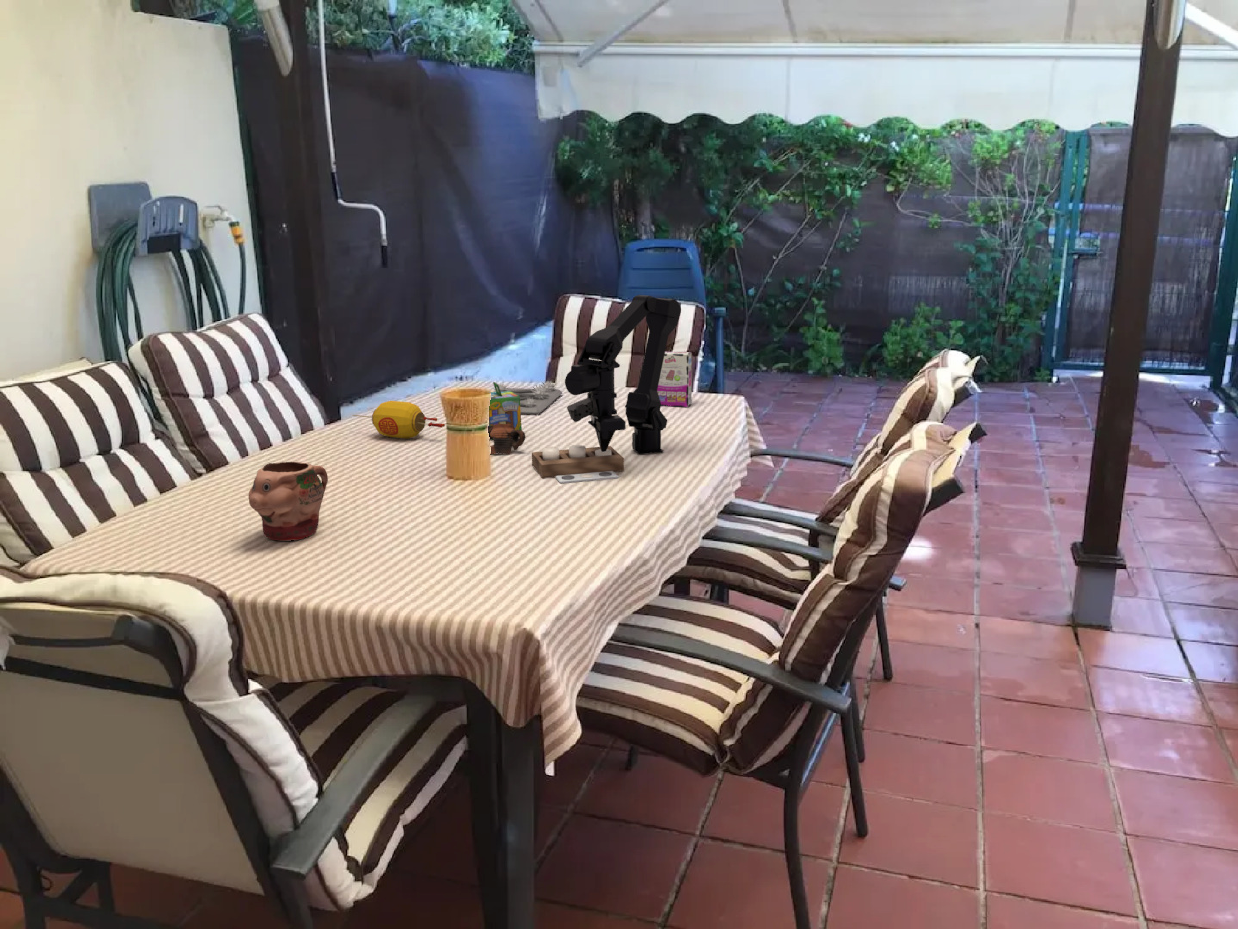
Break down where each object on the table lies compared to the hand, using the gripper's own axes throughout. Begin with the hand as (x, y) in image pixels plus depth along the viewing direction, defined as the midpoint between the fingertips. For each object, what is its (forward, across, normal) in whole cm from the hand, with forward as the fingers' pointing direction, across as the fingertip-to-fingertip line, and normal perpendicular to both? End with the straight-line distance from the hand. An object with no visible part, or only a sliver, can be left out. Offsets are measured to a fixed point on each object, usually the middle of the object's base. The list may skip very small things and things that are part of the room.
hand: (603, 451), depth 248 cm
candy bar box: (+4, -60, +38) cm, 71 cm away
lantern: (+4, -45, -46) cm, 64 cm away
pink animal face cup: (+4, +28, -72) cm, 77 cm away
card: (+4, +9, -7) cm, 12 cm away
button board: (+4, 0, -7) cm, 8 cm away
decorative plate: (+4, -77, -6) cm, 77 cm away
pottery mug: (+4, -21, -20) cm, 30 cm away
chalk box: (+4, -38, -19) cm, 42 cm away
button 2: (+3, 0, 0) cm, 3 cm away
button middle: (+1, 0, -7) cm, 7 cm away
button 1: (+1, 0, -13) cm, 13 cm away
